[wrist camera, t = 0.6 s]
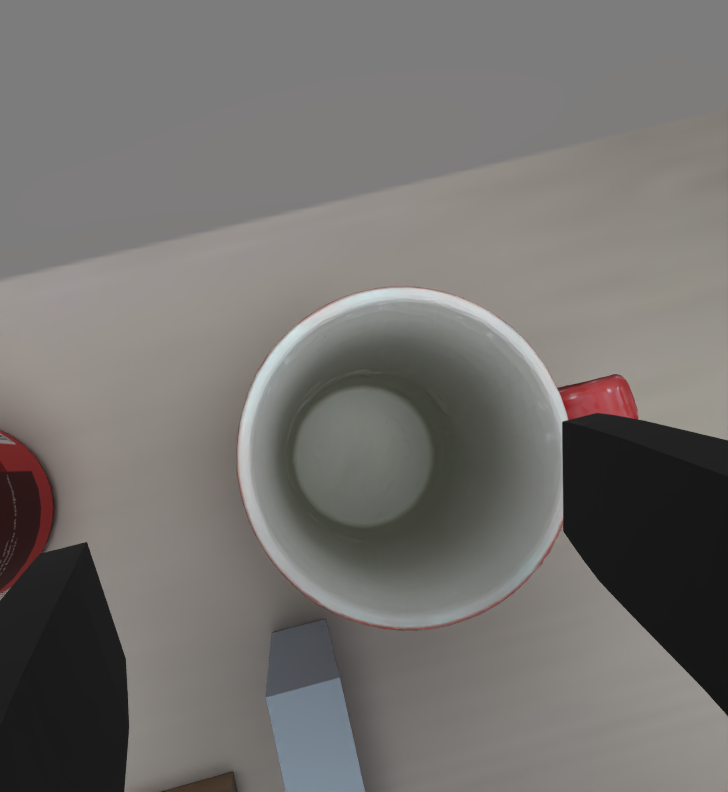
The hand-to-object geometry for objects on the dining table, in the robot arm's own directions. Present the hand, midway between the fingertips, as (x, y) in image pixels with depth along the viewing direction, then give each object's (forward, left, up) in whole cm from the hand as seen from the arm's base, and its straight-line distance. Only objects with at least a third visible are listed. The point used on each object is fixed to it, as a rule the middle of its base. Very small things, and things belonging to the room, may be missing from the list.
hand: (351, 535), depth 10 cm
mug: (+1, -4, -21) cm, 22 cm away
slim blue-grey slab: (-10, +2, -21) cm, 24 cm away
